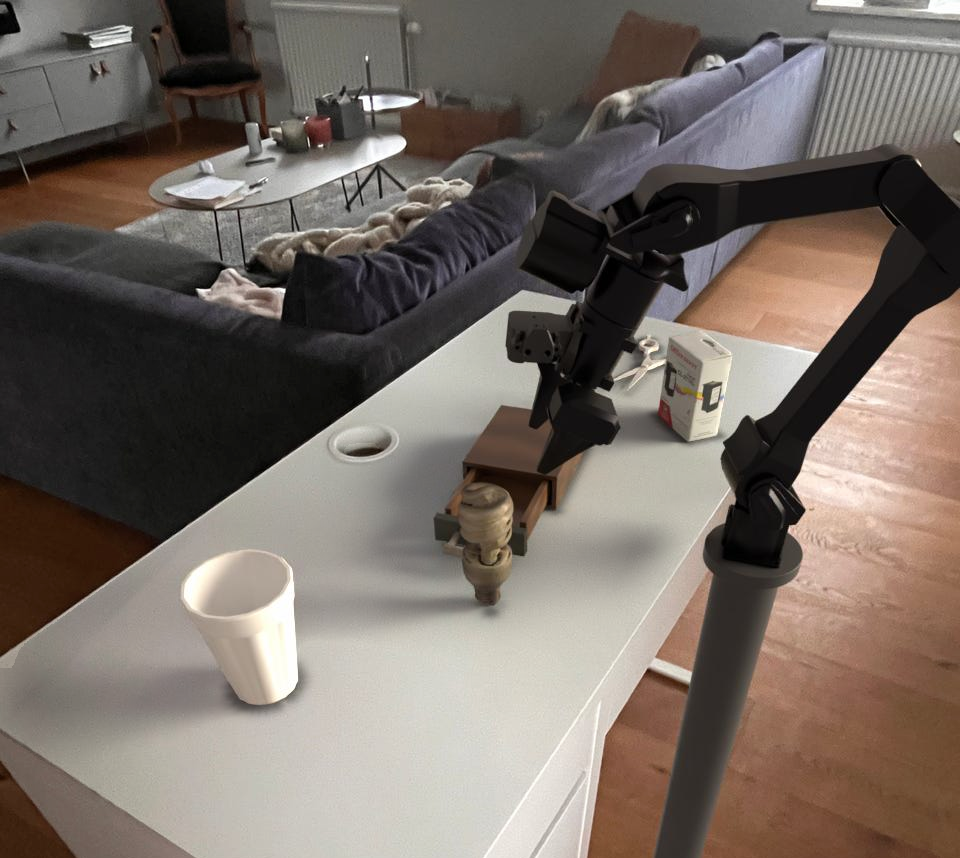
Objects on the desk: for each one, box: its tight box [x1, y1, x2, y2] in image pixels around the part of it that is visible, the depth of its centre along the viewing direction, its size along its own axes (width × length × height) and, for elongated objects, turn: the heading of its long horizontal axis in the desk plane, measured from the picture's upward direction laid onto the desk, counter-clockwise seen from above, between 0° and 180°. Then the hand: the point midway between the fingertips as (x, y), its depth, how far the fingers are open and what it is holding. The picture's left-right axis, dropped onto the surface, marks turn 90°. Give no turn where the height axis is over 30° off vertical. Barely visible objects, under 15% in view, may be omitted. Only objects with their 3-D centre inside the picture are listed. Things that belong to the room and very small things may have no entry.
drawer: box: [433, 467, 553, 559], centre depth 98 cm, size 18×11×3 cm, turn 160°
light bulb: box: [458, 482, 513, 607], centre depth 84 cm, size 6×6×15 cm
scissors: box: [613, 333, 666, 391], centre depth 129 cm, size 11×1×20 cm
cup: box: [178, 548, 299, 706], centre depth 77 cm, size 10×10×13 cm
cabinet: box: [461, 404, 587, 511], centre depth 107 cm, size 15×12×5 cm
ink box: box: [657, 330, 733, 443], centre depth 112 cm, size 9×5×12 cm, turn 21°
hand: (536, 449), depth 86 cm, fingers open, 9 cm apart
